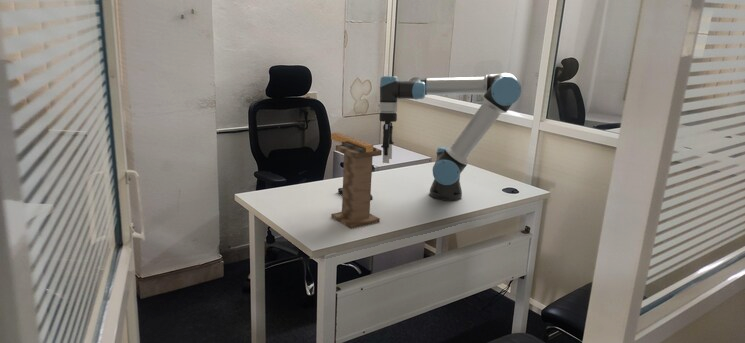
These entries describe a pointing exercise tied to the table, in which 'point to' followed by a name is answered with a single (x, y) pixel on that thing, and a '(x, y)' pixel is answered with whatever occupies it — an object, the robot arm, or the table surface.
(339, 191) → the disk drive
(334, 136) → the wood grain block
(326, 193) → the table surface
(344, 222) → the stand
